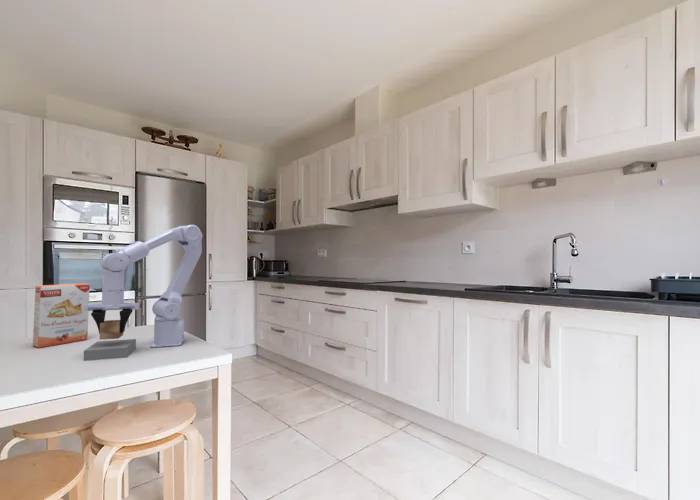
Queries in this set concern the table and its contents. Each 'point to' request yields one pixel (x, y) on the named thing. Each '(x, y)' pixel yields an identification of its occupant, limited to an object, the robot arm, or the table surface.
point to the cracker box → (60, 314)
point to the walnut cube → (110, 329)
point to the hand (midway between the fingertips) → (112, 332)
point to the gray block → (110, 349)
